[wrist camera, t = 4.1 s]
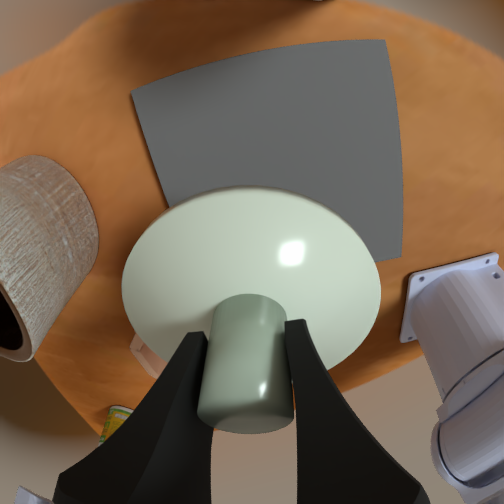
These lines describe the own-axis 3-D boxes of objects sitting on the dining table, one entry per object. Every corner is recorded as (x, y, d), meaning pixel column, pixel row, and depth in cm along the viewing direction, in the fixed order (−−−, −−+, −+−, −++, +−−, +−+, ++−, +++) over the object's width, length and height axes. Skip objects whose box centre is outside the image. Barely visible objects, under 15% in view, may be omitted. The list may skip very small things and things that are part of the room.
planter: (97, 151, 16) (-10, 222, 7) (111, 287, 21) (60, 384, 13) (-5, 153, 15) (-91, 207, 7) (18, 265, 21) (-37, 335, 13)
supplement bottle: (109, 400, 33) (91, 459, 25) (146, 413, 34) (131, 473, 25) (110, 413, 35) (95, 466, 27) (143, 424, 36) (131, 478, 28)
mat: (380, 40, 11) (384, 39, 11) (398, 252, 19) (401, 256, 18) (134, 90, 14) (130, 91, 13) (204, 286, 21) (203, 292, 20)
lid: (375, 162, 8) (461, 245, 4) (366, 358, 13) (386, 441, 9) (88, 220, 9) (14, 309, 5) (181, 379, 15) (166, 456, 11)
